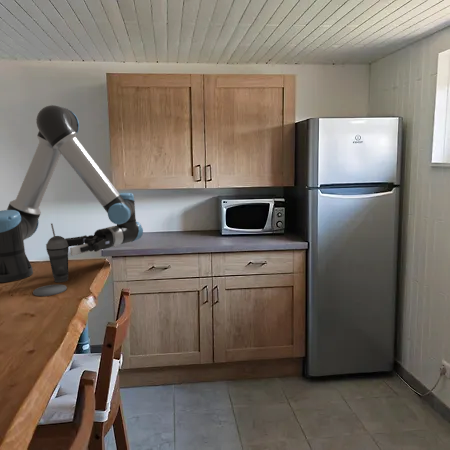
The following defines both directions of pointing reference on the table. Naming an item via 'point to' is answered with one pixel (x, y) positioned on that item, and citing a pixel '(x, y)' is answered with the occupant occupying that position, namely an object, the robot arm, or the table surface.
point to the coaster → (49, 290)
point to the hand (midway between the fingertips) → (58, 249)
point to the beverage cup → (58, 257)
